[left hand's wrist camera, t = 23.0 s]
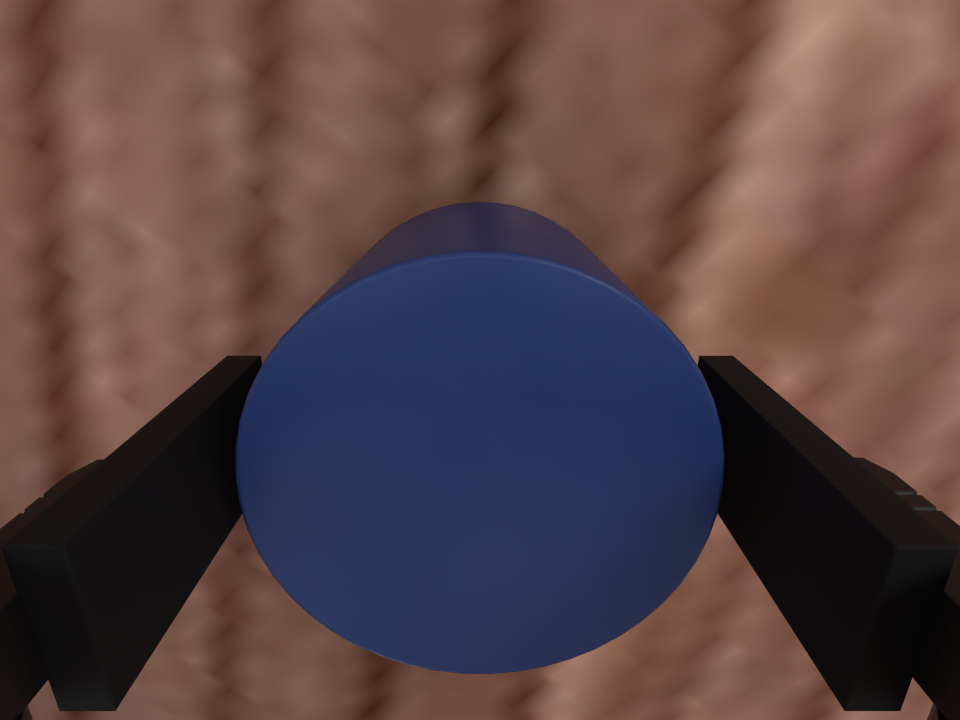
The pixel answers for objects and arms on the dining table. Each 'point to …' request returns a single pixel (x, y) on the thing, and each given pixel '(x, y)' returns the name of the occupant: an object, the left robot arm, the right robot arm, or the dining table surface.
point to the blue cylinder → (479, 449)
